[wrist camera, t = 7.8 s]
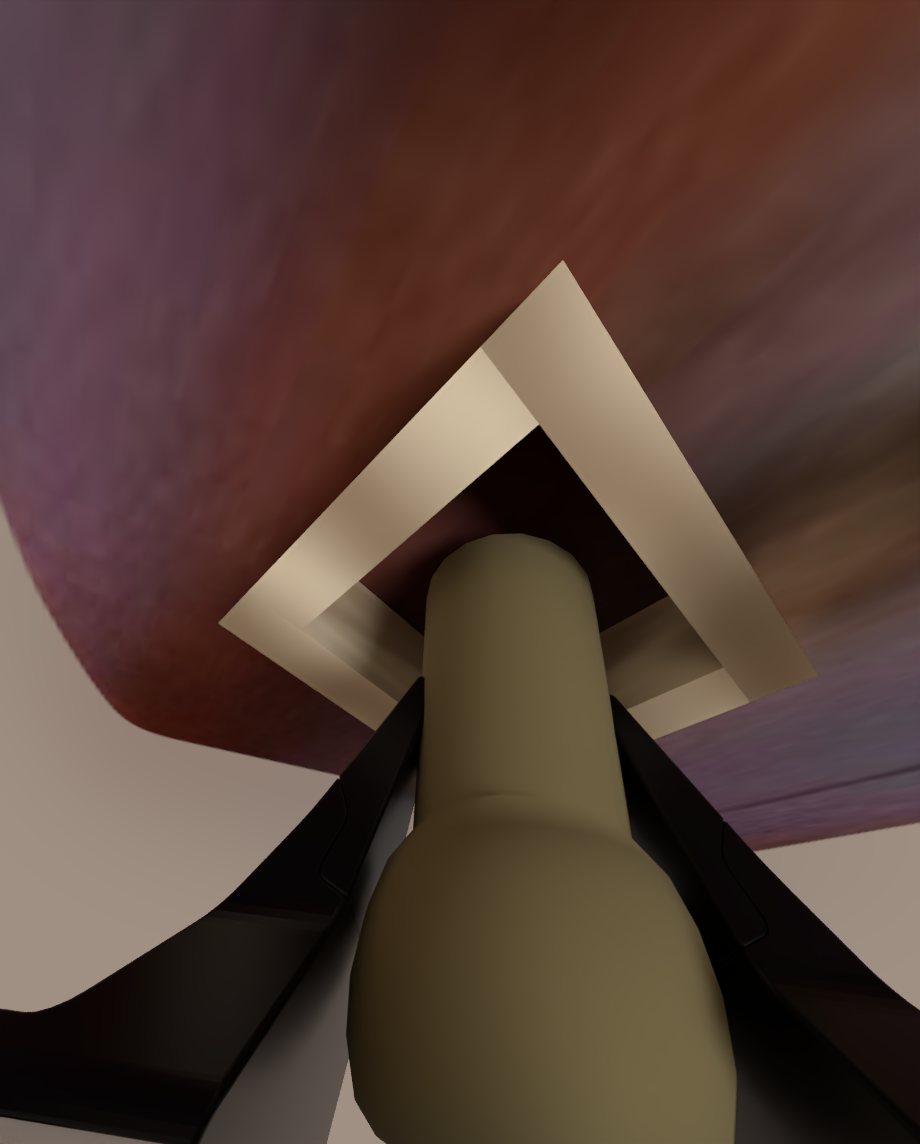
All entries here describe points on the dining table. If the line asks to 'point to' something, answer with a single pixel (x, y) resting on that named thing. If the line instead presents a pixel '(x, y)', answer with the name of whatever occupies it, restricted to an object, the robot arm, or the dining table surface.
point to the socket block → (611, 473)
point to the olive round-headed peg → (529, 898)
